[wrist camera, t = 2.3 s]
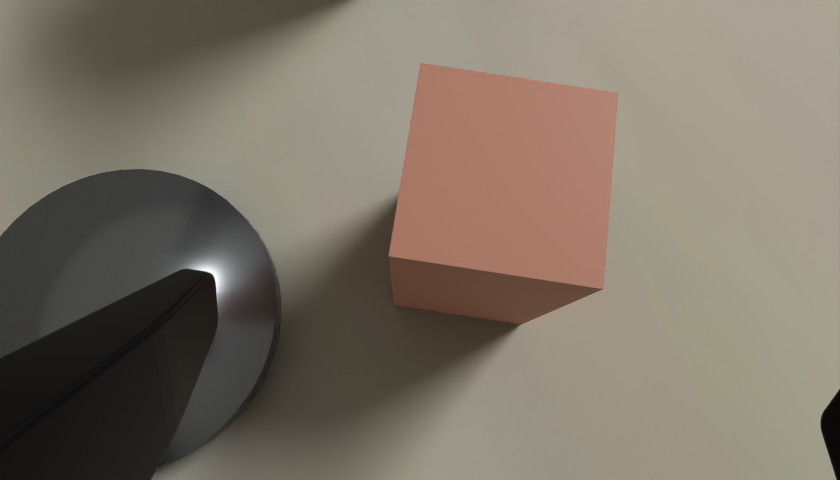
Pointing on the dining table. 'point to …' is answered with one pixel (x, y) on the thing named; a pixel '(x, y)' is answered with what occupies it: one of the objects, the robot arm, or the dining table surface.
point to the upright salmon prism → (502, 196)
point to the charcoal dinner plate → (146, 277)
